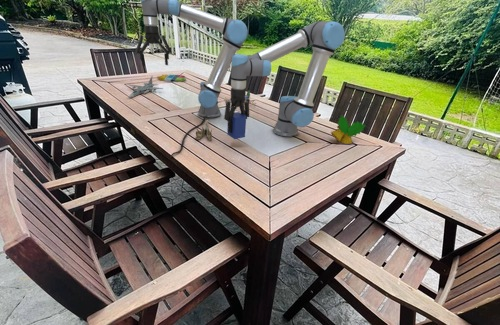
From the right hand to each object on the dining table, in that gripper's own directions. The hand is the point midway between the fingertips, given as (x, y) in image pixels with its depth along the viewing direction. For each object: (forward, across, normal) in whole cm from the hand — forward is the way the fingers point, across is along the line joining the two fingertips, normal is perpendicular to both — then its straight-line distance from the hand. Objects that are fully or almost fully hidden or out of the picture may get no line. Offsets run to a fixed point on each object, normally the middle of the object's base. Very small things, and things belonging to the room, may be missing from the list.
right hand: (236, 130), depth 141 cm
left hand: (-25, +22, -57) cm, 66 cm away
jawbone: (+9, +10, -18) cm, 23 cm away
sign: (+9, -30, -170) cm, 173 cm away
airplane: (+9, +12, -127) cm, 128 cm away
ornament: (+8, -63, +27) cm, 69 cm away
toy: (+9, -51, -70) cm, 87 cm away
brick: (+3, 0, 0) cm, 3 cm away
